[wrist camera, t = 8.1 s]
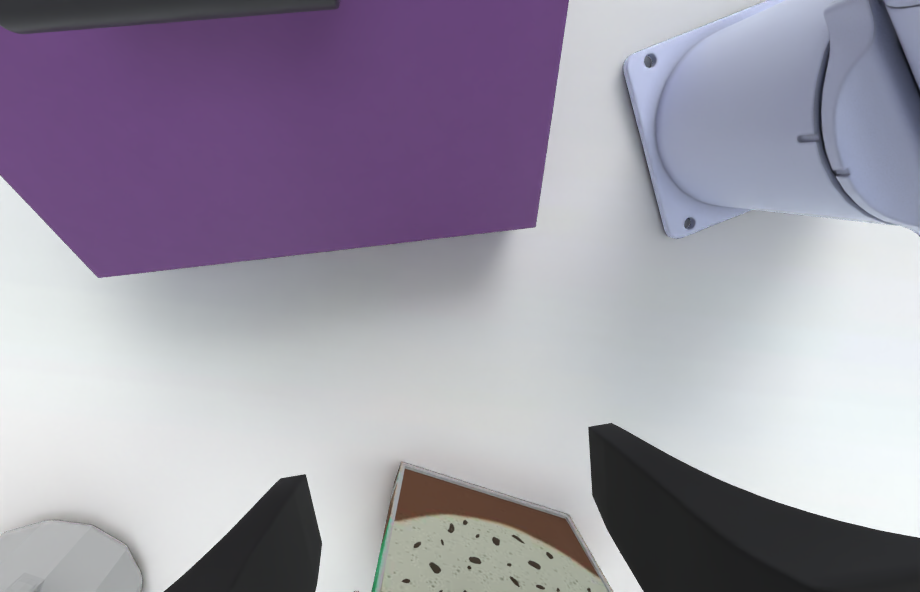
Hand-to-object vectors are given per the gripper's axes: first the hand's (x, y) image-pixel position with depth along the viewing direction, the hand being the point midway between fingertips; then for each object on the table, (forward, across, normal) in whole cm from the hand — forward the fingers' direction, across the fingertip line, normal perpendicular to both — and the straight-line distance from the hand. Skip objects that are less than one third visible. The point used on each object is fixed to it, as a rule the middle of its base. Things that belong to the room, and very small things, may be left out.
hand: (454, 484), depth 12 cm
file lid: (+4, +3, -10) cm, 11 cm away
